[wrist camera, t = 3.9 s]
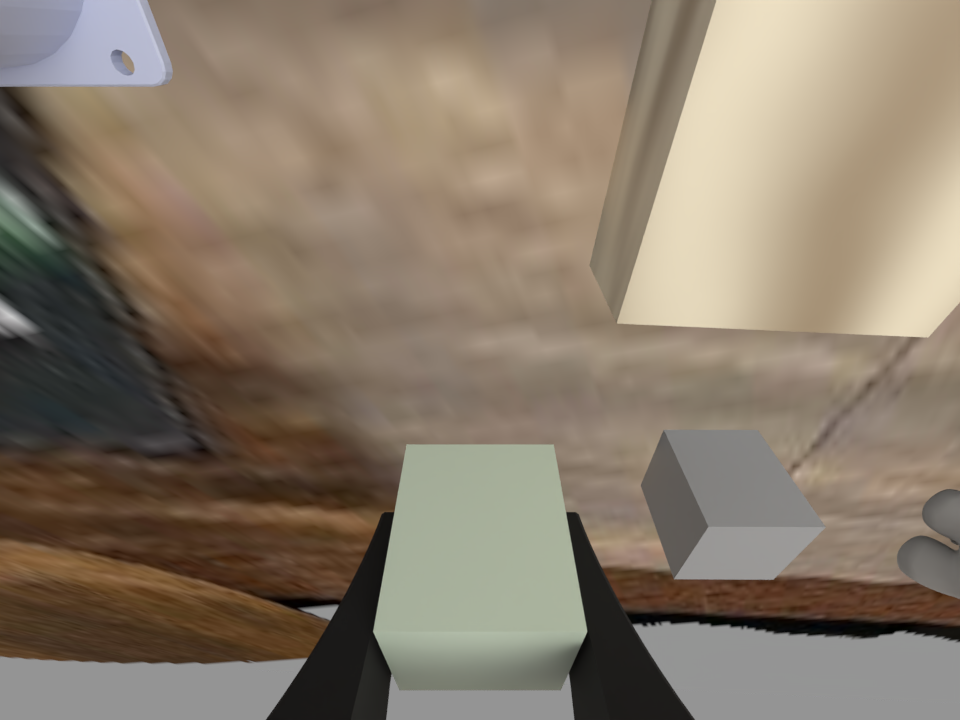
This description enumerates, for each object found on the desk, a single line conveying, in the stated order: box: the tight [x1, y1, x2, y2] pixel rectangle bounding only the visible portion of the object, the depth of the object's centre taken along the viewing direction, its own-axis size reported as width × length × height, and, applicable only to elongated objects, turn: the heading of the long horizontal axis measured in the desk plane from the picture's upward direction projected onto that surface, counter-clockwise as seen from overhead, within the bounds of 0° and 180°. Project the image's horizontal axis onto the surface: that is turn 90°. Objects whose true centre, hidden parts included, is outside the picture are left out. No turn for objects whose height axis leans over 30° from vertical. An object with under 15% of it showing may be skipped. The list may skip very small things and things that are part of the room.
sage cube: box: [373, 444, 587, 690], centre depth 12 cm, size 4×4×5 cm
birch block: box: [589, 0, 960, 338], centre depth 10 cm, size 9×9×4 cm
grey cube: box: [641, 430, 826, 580], centre depth 19 cm, size 4×4×5 cm
